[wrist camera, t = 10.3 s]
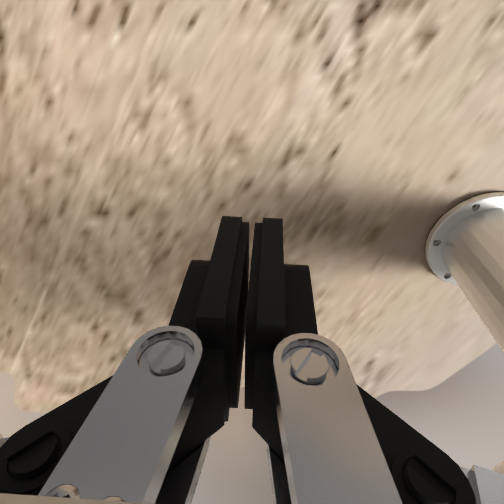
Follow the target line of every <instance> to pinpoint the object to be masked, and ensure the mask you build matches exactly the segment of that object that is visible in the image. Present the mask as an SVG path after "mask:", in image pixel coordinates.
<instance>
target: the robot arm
mask: <svg viewBox="0 0 504 504" xmlns="http://www.w3.org/2000/svg"><path fill="white" fill-rule="evenodd" d="M425 254H426V259H427V262H428V264H429V266H430V268H431V269H432V271H433V272H434V273H435V274H436V275H437V277H439V278H440V279H442V280H443V281H445V282H448V283H450V284H454V285H459V287H460V288H461V290H462V291H463V293H464V294H465V296H466V297H467V299H468V300H469V302H470V303H471V305H472V306H473V308H474V309H475V311H476V312H477V314H478V315H479V317H480V318H481V320H482V321H483V323H484V324H485V325H486V327H487V328H488V330H489V331H490V333H491V334H492V336H493V337H494V339H495V340H496V342H497V343H498V345H499V346H500V348H501V349H502V351H503V352H504V192H495V193H487V194H482V195H479V196H475V197H472V198H470V199H468V200H465V201H463V202H461V203H460V204H458V205H456V206H455V207H453V208H452V209H450V210H449V211H448V212H447V213H445V214H444V215H443V216H442V217H441V218H440V219H439V220H438V222H437V223H436V224H435V225H434V227H433V228H432V230H431V232H430V234H429V236H428V239H427V241H426V247H425ZM248 278H249V222H242V217H230V216H222V219H221V223H220V227H219V230H218V234H217V238H216V242H215V246H214V249H213V253H212V257H211V261H205V260H192V261H191V263H190V265H189V268H188V271H187V273H186V276H185V279H184V282H183V285H182V288H181V291H180V294H179V297H178V300H177V303H176V305H175V308H174V311H173V314H172V317H171V320H170V323H169V326H164V327H158V328H156V329H153V330H151V331H148V332H147V333H145V334H144V335H142V336H141V337H140V338H138V340H137V341H136V342H135V343H134V344H133V345H132V347H131V348H130V350H129V352H128V353H127V355H126V356H125V358H124V360H123V361H122V363H121V364H120V366H119V367H118V369H117V371H116V372H115V374H114V375H113V376H111V377H109V378H108V379H106V380H104V381H102V382H101V383H99V384H97V385H96V386H94V387H92V388H90V389H89V390H87V391H85V392H83V393H82V394H80V395H78V396H76V397H75V398H73V399H71V400H69V401H68V402H66V403H64V404H63V405H61V406H59V407H57V408H56V409H54V410H52V411H50V412H49V413H47V414H45V415H44V416H42V417H40V418H38V419H37V420H35V421H33V422H31V423H30V424H28V425H26V426H25V427H23V428H22V429H20V430H19V431H17V432H16V433H15V434H13V435H12V436H11V437H9V438H3V437H2V436H1V434H0V504H191V503H192V500H193V496H194V493H195V490H196V486H197V483H198V480H199V477H200V474H201V470H202V467H203V463H204V460H205V457H206V454H207V450H208V447H209V442H210V436H211V435H212V434H214V433H215V432H216V431H217V430H219V429H220V428H221V427H222V426H223V425H224V422H225V421H228V416H229V408H238V401H239V391H240V380H241V370H242V360H243V349H244V339H245V409H253V423H252V427H253V428H254V429H255V430H256V432H257V433H258V434H259V435H260V436H261V437H262V438H263V439H264V440H265V441H266V443H267V457H268V465H269V473H270V480H271V489H272V497H273V504H504V461H503V462H501V463H499V464H498V465H496V466H495V467H494V468H492V469H491V470H489V469H486V468H482V467H479V466H475V465H473V467H472V468H471V469H470V470H469V469H466V468H463V467H459V465H457V464H456V463H455V462H454V461H453V460H452V459H451V458H450V457H449V456H448V455H447V454H446V453H444V452H443V451H442V450H441V449H439V448H438V447H437V446H435V445H434V444H433V443H432V442H430V441H429V440H428V439H426V438H425V437H424V436H422V435H421V434H420V433H418V432H417V431H416V430H415V429H413V428H412V427H411V426H409V425H408V424H407V423H406V422H404V421H403V420H402V419H401V418H399V417H398V416H397V415H395V414H394V413H393V412H391V411H390V410H389V409H388V408H386V407H385V406H383V405H382V404H381V403H380V402H379V401H377V400H376V399H375V398H373V397H372V396H371V395H370V394H368V393H367V392H366V391H364V390H363V389H362V388H360V387H359V386H358V385H357V384H356V382H355V380H354V377H353V375H352V372H351V370H350V367H349V364H348V362H347V359H346V357H345V355H344V354H343V352H342V350H341V349H340V348H339V347H338V346H337V345H336V344H335V343H334V342H332V341H331V340H329V339H327V338H325V337H323V336H320V335H318V332H317V324H316V316H315V309H314V301H313V293H312V286H311V278H310V270H309V266H308V265H289V264H284V255H283V223H282V219H277V218H263V223H255V229H254V240H253V250H252V260H251V270H250V280H249V290H248ZM245 329H246V330H245Z"/></svg>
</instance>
